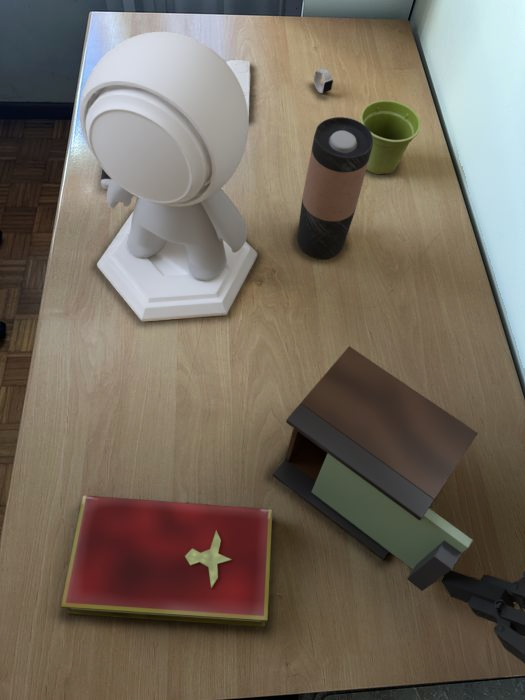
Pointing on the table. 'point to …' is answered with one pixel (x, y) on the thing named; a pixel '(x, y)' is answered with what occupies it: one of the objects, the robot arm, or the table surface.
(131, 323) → the table surface
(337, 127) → the travel mug
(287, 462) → the closet
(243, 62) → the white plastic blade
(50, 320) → the table surface
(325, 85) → the smartwatch
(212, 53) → the white cartoon figure
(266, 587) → the hardcover book
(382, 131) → the plant pot
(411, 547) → the closet door
